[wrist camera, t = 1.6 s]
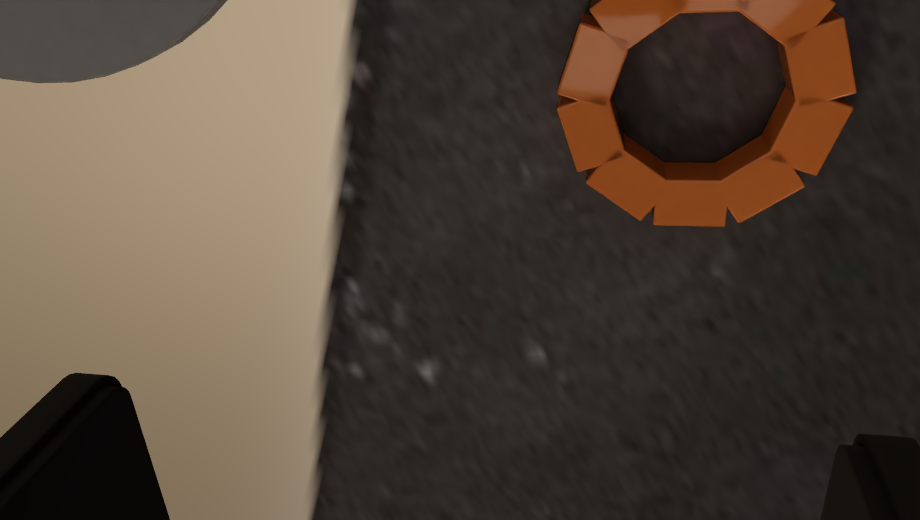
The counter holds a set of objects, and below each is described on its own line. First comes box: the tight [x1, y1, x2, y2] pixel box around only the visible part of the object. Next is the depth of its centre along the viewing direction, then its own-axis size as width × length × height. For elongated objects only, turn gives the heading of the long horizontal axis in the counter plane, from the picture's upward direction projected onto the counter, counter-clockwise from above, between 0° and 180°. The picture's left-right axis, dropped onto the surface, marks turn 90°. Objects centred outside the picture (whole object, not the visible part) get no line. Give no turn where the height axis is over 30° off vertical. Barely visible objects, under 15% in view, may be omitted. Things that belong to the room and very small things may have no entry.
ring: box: [557, 0, 857, 227], centre depth 26 cm, size 9×10×2 cm
